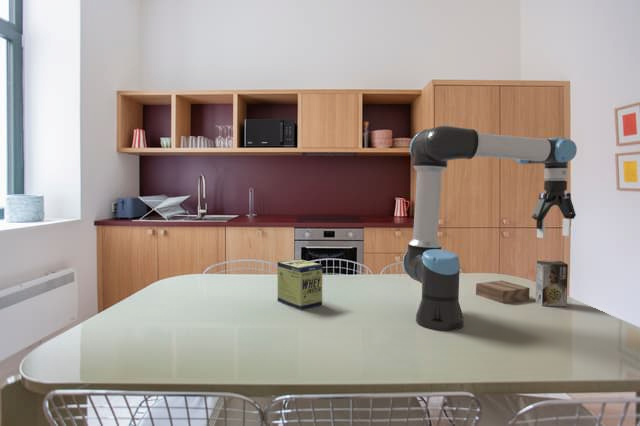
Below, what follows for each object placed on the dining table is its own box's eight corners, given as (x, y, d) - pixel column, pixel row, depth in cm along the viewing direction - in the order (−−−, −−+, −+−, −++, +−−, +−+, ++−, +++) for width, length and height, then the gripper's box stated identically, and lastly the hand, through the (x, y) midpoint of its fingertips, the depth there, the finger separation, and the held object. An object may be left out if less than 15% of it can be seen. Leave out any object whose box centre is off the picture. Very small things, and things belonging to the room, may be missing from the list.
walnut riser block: (502, 304, 166) (503, 291, 166) (475, 295, 179) (476, 283, 178) (529, 300, 172) (529, 287, 171) (501, 292, 184) (501, 280, 184)
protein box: (301, 310, 157) (300, 267, 156) (276, 301, 169) (276, 261, 168) (323, 305, 164) (323, 264, 162) (298, 296, 176) (298, 258, 174)
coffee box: (559, 302, 168) (561, 260, 167) (567, 306, 161) (569, 263, 160) (534, 301, 169) (536, 260, 167) (541, 306, 162) (543, 263, 161)
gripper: (540, 180, 153) (538, 239, 155) (587, 179, 163) (585, 236, 165) (522, 180, 160) (520, 237, 162) (569, 179, 170) (567, 233, 172)
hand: (553, 236), depth 163 cm, fingers open, 13 cm apart
